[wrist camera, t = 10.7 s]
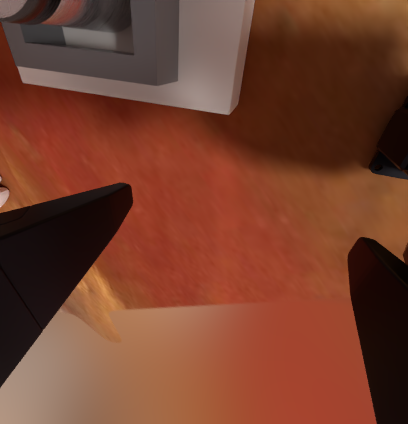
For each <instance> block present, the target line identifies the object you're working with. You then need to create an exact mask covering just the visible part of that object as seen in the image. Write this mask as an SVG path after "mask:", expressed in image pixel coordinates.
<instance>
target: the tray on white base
mask: <svg viewBox="0 0 408 424" xmlns="http://www.w3.org/2000/svg"><path fill="white" fill-rule="evenodd" d="M254 3H255V0H130V5H131V18H132V24H131V25H130V26H129V27H128V28H126V29H125V30H123V31H121V32H117V33H107V32H99V31H92V30H84V29H77V28H69V27H62V26H54V25H47V24H36V25H23V24H15V23H7V22H1V23H2V26H3V29H4V32H5V35H6V38H7V41H8V44H9V47H10V50H11V53H12V56H13V59H14V62H15V65H16V66H17V67H18V70H19V73H20V76H21V79H22V82H23V83H27V84H34V85H40V86H47V87H53V88H59V89H66V90H72V91H78V92H85V93H91V94H98V95H104V96H110V97H117V98H123V99H130V100H136V101H142V102H149V103H155V104H161V105H168V106H174V107H181V108H187V109H193V110H200V111H206V112H213V113H219V114H225V115H229V114H230V113H231V112H232V111H233V110H234V109H235V108H236V106H237V105H238V102H239V96H240V90H241V83H242V77H243V71H244V65H245V59H246V53H247V46H248V40H249V34H250V28H251V22H252V15H253V9H254Z"/></svg>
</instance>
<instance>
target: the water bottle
mask: <svg viewBox="0 0 408 424" xmlns="http://www.w3.org/2000/svg"><path fill="white" fill-rule="evenodd" d="M1 180H2V178H1V176H0V181H1ZM8 197H9V190H8V189H7V188H4V187H0V207H1V206H2V205H3V204H4V203H5V202H6V201H7V199H8Z"/></svg>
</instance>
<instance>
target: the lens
mask: <svg viewBox="0 0 408 424" xmlns="http://www.w3.org/2000/svg"><path fill="white" fill-rule="evenodd" d="M0 22H7V23H15V24H23V25H36V24H47V25H54V26H62V27H69V28H77V29H84V30H92V31H99V32H107V33H117V32H121V31H123V30H125V29H126V28H128V27H129V26H130V25H131V24H132V18H131V5H130V0H0Z"/></svg>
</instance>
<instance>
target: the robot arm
mask: <svg viewBox="0 0 408 424" xmlns="http://www.w3.org/2000/svg"><path fill="white" fill-rule="evenodd" d="M377 148H378V150H377V152H376V154H375V156H374V158H373V159H372V161H371V163H370V165H369V169H370V170H371V172H372V173H374V174H379V175H385V176H390V177H396V178H401V179H407V180H408V96H407V98H406V100H405V102H404V104H403V105H402V107H401V108H399V109H397V110H396V111H395V113H394V115H393V117H392V118H391V120H390V122H389V124H388V126H387V128H386V129H385V131H384V133H383V135H382V137H381V139H380V140H379V142H378V144H377ZM380 164H381V166H380V167H379V168H378V169H374V168H375V166H376V165H380ZM132 204H133V197H132V188H131V186H130V185H129V184H126V183H117V184H113V185H109V186H105V187H101V188H97V189H93V190H90V191H86V192H82V193H78V194H74V195H70V196H66V197H62V198H59V199H55V200H51V201H47V202H43V203H39V204H35V205H32V206H27V207H23V208H20V209H15V210H11V211H7V212H3V213H0V387H1V386H2V385H3V383H4V382H5V381H6V379H7V378H8V377H9V375H10V374H11V372H12V371H13V370H14V369H15V367H16V366H17V365H18V363H19V362H20V361H21V359H22V358H23V357H24V355H25V354H26V352H27V351H28V350H29V349H30V347H31V346H32V345H33V343H34V342H35V341H36V339H37V338H38V337H39V335H40V334H41V333H42V331H43V329H45V327H46V326H47V325H48V323H49V322H50V320H51V319H52V318H53V316H54V315H55V314H56V313H57V311H58V310H59V309H60V307H61V306H62V305H63V303H64V302H65V301H66V299H67V298H68V297H69V295H70V294H71V293H72V291H73V290H74V289H75V287H76V286H77V285H78V283H79V282H80V281H81V279H82V278H83V277H84V275H85V274H86V273H87V271H88V270H89V269H90V267H91V266H92V265H93V263H94V262H95V261H96V259H97V258H98V257H99V255H100V254H101V253H102V251H103V250H104V249H105V247H106V246H107V245H108V243H109V242H110V241H111V239H112V238H113V237H114V235H115V234H116V232H117V231H118V229H119V227H120V226H121V224H122V222H123V221H124V219H125V217H126V215H127V214H128V212H129V210H130V209H131V207H132ZM403 257H404V261H405V263H404V262H403V261H401V260H400V259H399V258H398V257H396V256H395V255H394V254H392V253H391V252H390V251H388V250H387V249H386V248H385V247H383V246H382V245H381V244H379V243H378V242H377V241H375V240H374V239H370V238H365V237H360V238H359V239H358V240H357V241H356V243H355V244H354V246H353V247H352V249H351V250H350V252H349V254H348V272H349V285H350V295H351V301H352V306H353V311H354V316H355V321H356V326H357V330H358V335H359V339H360V345H361V349H362V355H363V359H364V364H365V369H366V374H367V379H368V384H369V388H370V392H371V398H372V403H373V408H374V412H375V417H376V422H377V424H408V243H407V245H406V248H405V251H404V253H403Z"/></svg>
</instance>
